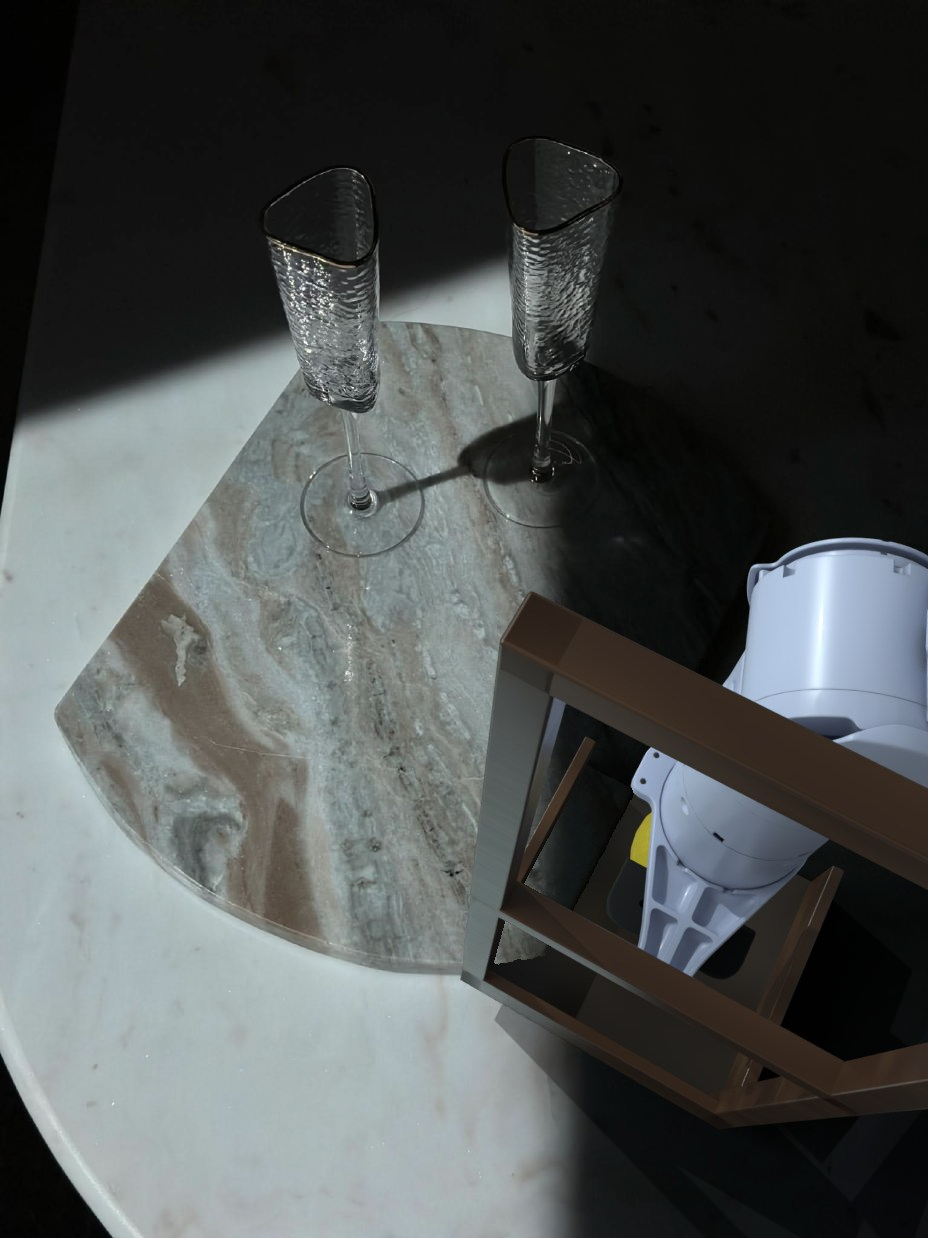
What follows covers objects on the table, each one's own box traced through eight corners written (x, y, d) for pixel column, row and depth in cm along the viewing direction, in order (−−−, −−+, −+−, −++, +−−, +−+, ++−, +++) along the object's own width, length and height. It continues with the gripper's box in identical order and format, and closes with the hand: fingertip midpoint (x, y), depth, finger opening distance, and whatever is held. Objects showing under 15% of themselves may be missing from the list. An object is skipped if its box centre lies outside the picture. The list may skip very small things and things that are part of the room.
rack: (577, 760, 63) (788, 152, 25) (820, 887, 60) (1475, 426, 22) (459, 979, 58) (497, 641, 20) (719, 1129, 55) (1338, 1072, 17)
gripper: (742, 565, 43) (675, 696, 56) (566, 906, 38) (535, 968, 50) (920, 651, 42) (811, 765, 54) (765, 1018, 36) (683, 1052, 49)
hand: (688, 868), depth 52 cm, fingers closed on lemon, 5 cm apart
